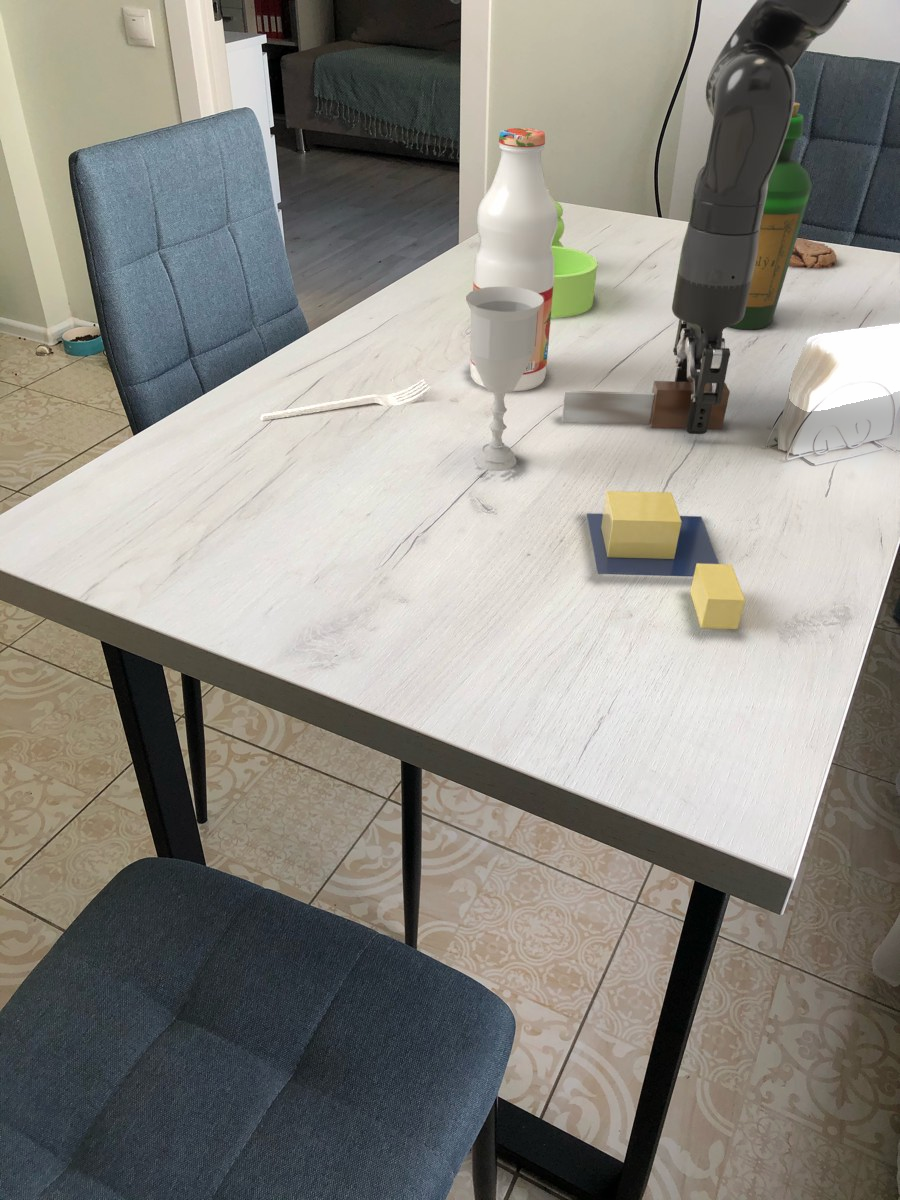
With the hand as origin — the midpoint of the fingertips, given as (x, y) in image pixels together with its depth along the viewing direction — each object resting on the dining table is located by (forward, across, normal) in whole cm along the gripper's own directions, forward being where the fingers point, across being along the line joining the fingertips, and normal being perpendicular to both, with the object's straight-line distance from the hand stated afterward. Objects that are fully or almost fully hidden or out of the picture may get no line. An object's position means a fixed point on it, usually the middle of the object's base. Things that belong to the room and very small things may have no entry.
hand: (688, 415), depth 106 cm
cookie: (+2, +63, -31) cm, 70 cm away
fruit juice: (+2, +12, +20) cm, 23 cm away
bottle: (+2, +34, -14) cm, 37 cm away
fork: (+2, +2, +39) cm, 39 cm away
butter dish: (+1, -26, +8) cm, 27 cm away
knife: (+1, 0, +5) cm, 5 cm away
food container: (+2, +45, +14) cm, 47 cm away
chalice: (+2, -11, +22) cm, 25 cm away
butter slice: (+2, -36, +4) cm, 36 cm away
